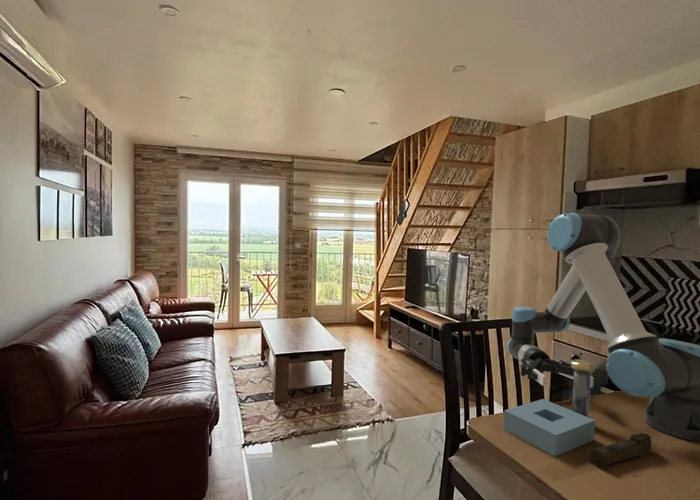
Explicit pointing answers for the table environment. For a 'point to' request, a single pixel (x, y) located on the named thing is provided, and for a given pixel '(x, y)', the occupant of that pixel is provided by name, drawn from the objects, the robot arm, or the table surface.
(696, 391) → the robot arm
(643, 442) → the dark brown wooden club
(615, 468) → the table surface
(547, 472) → the table surface
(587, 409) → the pin
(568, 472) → the table surface
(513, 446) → the table surface
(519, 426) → the socket block
